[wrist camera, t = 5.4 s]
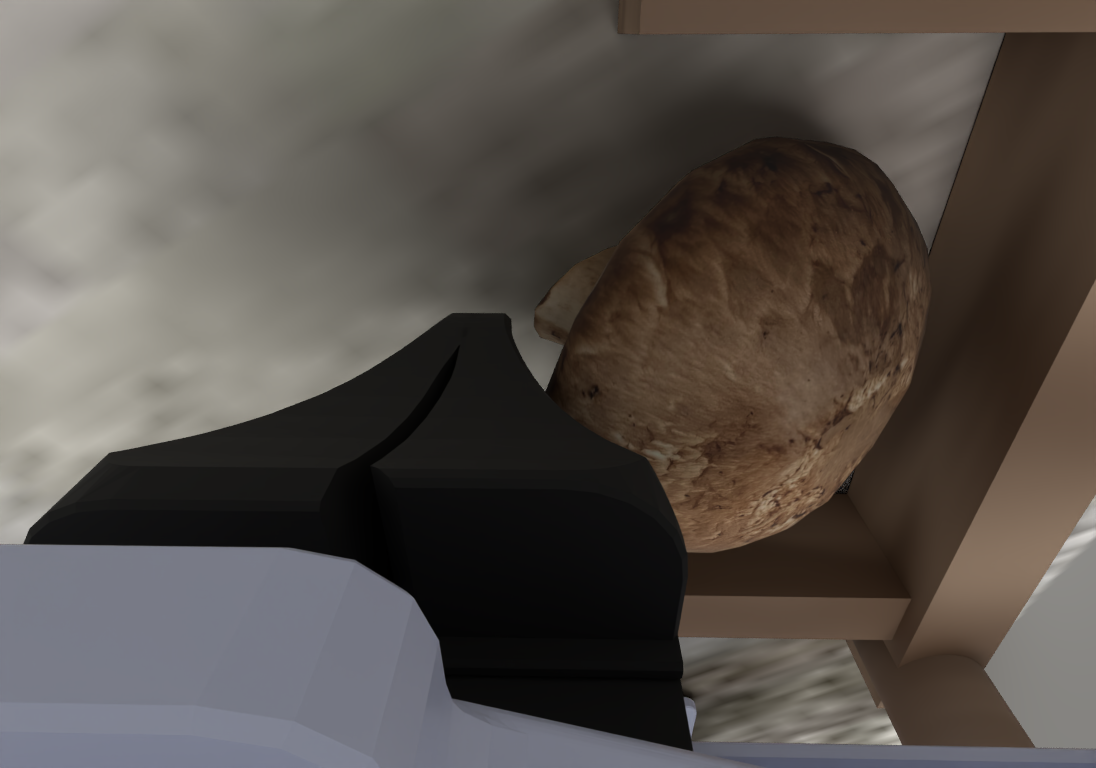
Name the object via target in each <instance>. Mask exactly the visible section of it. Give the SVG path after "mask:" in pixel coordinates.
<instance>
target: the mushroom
mask: <svg viewBox="0 0 1096 768" xmlns="http://www.w3.org/2000/svg"><path fill="white" fill-rule="evenodd" d="M931 293H932V288H931V278H930V268H929V258H928V248H927V246H926V244H925V241H924V239H923V236H922V234H921V232H920V229H919V227H918V224H917V222H916V220H915V219H914V217H913V216H912V214H911V212H910V211H909V209H908V208H907V206H906V204H905V203H904V201H903V199H902V198H901V196H900V195H899V193H898V191H897V190H896V188H895V187H894V185H893V183H892V182H891V181H890V180H889V179H888V177H887V176H886V175H885V174H884V172H883V171H882V170H881V169H880V168H879V166H878V165H877V164H875V163H874V162H872V161H871V160H869V159H868V158H866V157H865V156H863V155H862V154H860V153H859V152H857V151H856V150H854V149H850V148H847V147H843V146H839V145H836V144H832V143H828V142H819V141H810V140H801V139H792V138H783V137H769V138H760V139H755V140H753V141H751V142H749V143H747V144H745V145H743V146H741V147H739V148H737V149H735V150H733V151H731V152H729V153H727V154H725V155H723V156H721V157H719V158H717V159H715V160H713V161H711V162H709V163H707V164H705V165H703V166H701V167H699V168H697V169H695V170H693V171H691V172H690V173H689V174H687V175H686V176H685V177H684V178H683V179H681V180H680V181H679V182H678V183H677V184H676V185H675V186H674V187H673V188H672V189H671V190H670V191H669V192H668V193H667V194H666V195H665V196H664V197H663V198H662V199H661V200H660V201H659V202H658V203H657V204H656V205H655V206H654V207H653V208H652V209H651V210H650V211H649V212H648V213H647V215H646V216H645V217H644V218H643V219H642V220H641V221H640V222H639V223H638V224H637V225H636V226H635V227H634V228H633V229H632V230H631V231H630V232H629V233H628V234H627V235H626V236H625V237H624V238H623V239H622V240H621V241H620V242H619V244H618V246H614V247H611V248H607V249H605V250H603V251H601V252H599V253H597V254H595V255H593V256H591V257H589V258H587V259H585V260H583V261H581V262H579V263H577V264H575V265H574V266H573V267H572V268H571V269H570V270H569V271H568V272H567V273H566V274H565V275H564V276H563V277H562V278H561V279H560V280H559V281H557V282H556V283H555V284H554V285H553V286H552V287H551V289H550V290H549V291H548V293H547V294H546V295H545V297H544V298H543V299H542V301H541V302H540V303H539V305H538V306H537V307H536V309H535V317H534V327H535V329H536V331H537V332H538V334H539V336H540V337H541V338H544V339H547V340H550V341H553V342H556V343H559V344H562V345H564V347H563V349H562V352H561V354H560V357H559V359H558V362H557V364H556V367H555V369H554V372H553V374H552V377H551V379H550V382H549V384H548V387H547V389H546V391H545V392H546V393H547V394H548V396H549V397H550V398H551V399H552V400H553V401H554V402H555V403H556V404H557V405H558V406H559V407H560V408H561V409H562V410H563V411H565V412H566V413H567V414H568V415H570V416H571V417H572V418H573V419H575V420H576V421H577V422H579V423H580V424H582V425H583V426H584V427H586V428H588V429H589V430H591V431H593V432H594V433H596V434H598V435H599V436H601V437H603V438H605V439H606V440H608V441H611V442H613V443H615V444H617V445H619V446H622V447H624V448H626V449H628V450H631V451H633V452H635V453H637V454H640V455H642V456H644V457H646V458H647V459H648V461H649V462H650V464H651V466H652V467H653V469H654V471H655V473H656V475H657V477H658V479H659V481H660V483H661V484H662V486H663V488H664V491H665V493H666V495H667V497H668V499H669V501H670V504H671V506H672V508H673V511H674V513H675V516H676V518H677V521H678V523H679V526H680V529H681V532H682V535H683V538H684V542H685V546H686V550H687V552H698V553H713V552H718V551H723V550H727V549H732V548H737V547H741V546H743V545H746V544H749V543H752V542H754V541H757V540H760V539H763V538H765V537H768V536H771V535H774V534H777V533H779V532H781V531H783V530H786V529H788V528H790V527H792V526H793V525H794V524H796V523H797V522H798V521H800V520H801V519H802V518H804V517H805V516H806V515H807V514H809V513H810V512H812V511H813V510H815V509H817V508H818V507H820V506H821V505H823V504H824V503H826V502H828V501H829V499H830V498H831V497H832V496H833V495H834V493H835V492H836V491H837V490H838V488H839V487H840V486H841V485H842V483H843V482H844V481H845V480H846V479H847V477H848V476H849V475H850V474H851V472H852V471H853V470H854V469H855V468H856V466H857V465H858V464H859V463H860V461H861V460H862V459H863V458H864V457H865V455H866V454H867V453H868V452H869V450H870V449H871V448H872V447H873V445H874V443H875V442H876V440H877V439H878V437H879V435H880V434H881V432H882V430H883V429H884V427H885V426H886V424H887V422H888V421H889V419H890V417H891V416H892V414H893V412H894V411H895V409H896V408H897V406H898V404H899V403H900V401H901V399H902V398H903V396H904V395H905V393H906V391H907V390H908V388H909V386H910V383H911V380H912V376H913V373H914V369H915V366H916V363H917V359H918V356H919V352H920V349H921V345H922V342H923V339H924V335H925V332H926V325H927V319H928V313H929V306H930V300H931Z"/></svg>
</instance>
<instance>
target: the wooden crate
mask: <svg viewBox="0 0 1096 768" xmlns="http://www.w3.org/2000/svg"><path fill="white" fill-rule="evenodd" d="M997 32H1006V35H1005V38H1004V41H1003V44H1002V47H1001V50H1000V53H999V56H998V58H997V61H996V64H995V67H994V70H993V73H992V76H991V79H990V82H989V84H988V87H987V90H986V93H985V96H984V99H983V102H982V105H981V108H980V111H979V113H978V116H977V119H976V122H975V125H974V128H973V131H972V134H971V137H970V139H969V142H968V145H967V148H966V151H965V154H964V157H963V160H962V163H961V166H960V168H959V171H958V174H957V177H956V180H955V183H954V186H953V189H952V192H951V194H950V197H949V200H948V203H947V206H946V209H945V212H944V215H943V218H942V220H941V223H940V226H939V229H938V232H937V235H936V238H935V241H934V244H933V247H932V249H931V252H930V255H929V268H930V278H931V288H932V293H931V300H930V306H929V313H928V319H927V325H926V332H925V335H924V339H923V342H922V345H921V349H920V352H919V356H918V359H917V363H916V366H915V369H914V373H913V376H912V380H911V383H910V386H909V388H908V390H907V391H906V393H905V395H904V396H903V398H902V399H901V401H900V403H899V404H898V406H897V408H896V409H895V411H894V412H893V414H892V416H891V417H890V419H889V421H888V422H887V424H886V426H885V427H884V429H883V430H882V432H881V434H880V435H879V437H878V439H877V440H876V442H875V443H874V445H873V447H872V448H871V449H870V450H869V452H868V453H867V454H866V455H865V457H864V458H863V459H862V460H861V461H860V463H859V464H858V465H857V466H856V469H855V472H854V475H853V478H852V481H851V484H850V487H849V490H848V492H847V494H834V495H833V496H832V497H831V498H830V499H829V501H828V502H826V503H824V504H823V505H821V506H820V507H818V508H817V509H815V510H813V511H812V512H810V513H809V514H807V515H806V516H805V517H804V518H802V519H801V520H800V521H798V522H797V523H796V524H794V525H793V526H792V527H790V528H788V529H786V530H783V531H781V532H779V533H777V534H774V535H771V536H768V537H765V538H763V539H760V540H757V541H754V542H752V543H749V544H746V545H743V546H741V547H737V548H732V549H727V550H723V551H718V552H713V553H698V552H687V554H688V579H687V585H686V591H685V596H684V602H683V608H682V614H681V619H680V625H679V631H678V637H718V638H783V639H845V640H846V642H847V644H848V646H849V648H850V651H851V653H852V655H853V657H854V659H855V661H856V663H857V666H858V668H859V670H860V672H861V674H862V676H863V678H864V681H865V683H866V685H867V687H868V689H869V691H870V693H871V696H872V698H873V700H874V702H875V704H876V706H877V708H885V710H886V712H887V714H888V716H889V718H890V720H891V722H892V724H893V726H894V729H895V731H896V733H897V735H898V737H899V739H900V741H901V743H902V745H915V746H970V747H1024V748H1035V746H1034V744H1033V743H1032V742H1031V740H1030V738H1029V737H1028V735H1027V734H1026V732H1025V731H1024V729H1023V728H1022V726H1021V725H1020V723H1019V722H1018V720H1017V719H1016V717H1015V716H1014V715H1013V713H1012V711H1011V710H1010V709H1009V707H1008V705H1007V704H1006V702H1005V701H1004V699H1003V698H1002V696H1001V695H1000V693H999V692H998V690H997V689H996V687H995V686H994V684H993V682H992V681H991V679H990V678H989V676H988V675H987V673H986V672H985V670H984V668H985V667H986V665H987V664H988V662H989V660H990V659H991V657H992V656H993V654H994V653H995V651H996V649H997V648H998V646H999V645H1000V643H1001V642H1002V640H1003V639H1004V637H1005V635H1006V634H1007V632H1008V631H1009V629H1010V628H1011V626H1012V624H1013V623H1014V621H1015V620H1016V618H1017V617H1018V615H1019V614H1020V612H1021V610H1022V609H1023V607H1024V606H1025V604H1026V603H1027V601H1028V599H1029V598H1030V596H1031V595H1032V593H1033V592H1034V590H1035V588H1036V587H1037V585H1038V584H1039V582H1040V581H1041V579H1042V577H1043V576H1044V574H1045V573H1046V571H1047V570H1048V568H1049V566H1050V565H1051V563H1052V562H1053V560H1054V559H1055V557H1056V556H1057V554H1058V552H1059V551H1060V549H1061V548H1062V546H1063V545H1064V543H1065V541H1066V540H1067V538H1068V537H1069V535H1070V534H1071V532H1072V530H1073V529H1074V527H1075V526H1076V524H1077V523H1078V521H1079V519H1080V518H1081V516H1082V515H1083V513H1084V512H1085V510H1086V509H1087V507H1088V505H1089V504H1090V502H1091V501H1092V499H1093V498H1094V496H1095V494H1096V0H619V12H618V33H620V34H804V33H997Z"/></svg>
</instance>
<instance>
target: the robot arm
mask: <svg viewBox="0 0 1096 768" xmlns="http://www.w3.org/2000/svg"><path fill="white" fill-rule="evenodd" d="M687 579H688V554H687V550H686V546H685V542H684V538H683V535H682V532H681V529H680V526H679V523H678V521H677V518H676V516H675V513H674V511H673V508H672V506H671V504H670V501H669V499H668V497H667V495H666V493H665V491H664V488H663V486H662V484H661V483H660V481H659V479H658V477H657V475H656V473H655V471H654V469H653V467H652V466H651V464H650V462H649V461H648V459H647V458H646V457H644V456H642V455H640V454H637V453H635V452H633V451H631V450H628V449H626V448H624V447H622V446H619V445H617V444H615V443H613V442H611V441H608V440H606V439H605V438H603V437H601V436H599V435H598V434H596V433H594V432H593V431H591V430H589V429H588V428H586V427H584V426H583V425H582V424H580V423H579V422H577V421H576V420H575V419H573V418H572V417H571V416H570V415H568V414H567V413H566V412H565V411H563V410H562V409H561V408H560V407H559V406H558V405H557V404H556V403H555V402H554V401H553V400H552V399H551V398H550V397H549V396H548V394H547V393H546V392H545V391H544V390H543V389H542V387H541V386H540V385H539V383H538V382H537V381H536V379H535V378H534V376H533V375H532V373H531V372H530V370H529V369H528V367H527V366H526V364H525V362H524V360H523V359H522V357H521V355H520V353H519V350H518V348H517V346H516V344H515V342H514V339H513V336H512V326H511V319H510V318H509V317H508V316H507V315H506V314H505V313H452V314H451V315H449V316H447V317H446V318H444V319H443V320H441V321H440V322H438V323H437V324H436V325H434V326H433V327H432V328H430V329H429V330H428V331H426V332H425V333H424V334H422V335H421V336H419V337H418V338H417V339H415V340H414V341H412V342H411V343H410V344H408V345H407V346H405V347H404V348H403V349H401V350H400V351H398V352H396V353H395V354H393V355H392V356H390V357H389V358H387V359H385V360H384V361H382V362H381V363H379V364H377V365H376V366H374V367H373V368H371V369H370V370H368V371H366V372H364V373H363V374H361V375H359V376H357V377H355V378H353V379H352V380H350V381H348V382H346V383H344V384H342V385H340V386H337V387H335V388H333V389H331V390H329V391H327V392H325V393H323V394H320V395H318V396H316V397H313V398H311V399H308V400H305V401H303V402H300V403H298V404H295V405H292V406H290V407H287V408H285V409H282V410H279V411H277V412H274V413H272V414H269V415H266V416H263V417H259V418H256V419H253V420H250V421H247V422H243V423H240V424H237V425H233V426H229V427H226V428H222V429H218V430H215V431H211V432H207V433H203V434H199V435H195V436H191V437H186V438H182V439H177V440H172V441H167V442H162V443H158V444H153V445H148V446H143V447H138V448H133V449H129V450H123V451H117V452H111V453H109V454H108V455H107V456H106V457H104V458H103V459H102V460H101V461H100V462H99V463H98V464H97V465H96V466H95V467H94V468H93V469H92V470H91V471H90V472H89V473H88V474H87V475H86V476H84V477H83V478H82V479H81V480H80V481H79V482H78V483H77V484H76V485H75V486H74V487H73V488H72V489H71V490H70V491H69V492H68V493H67V494H66V495H64V496H63V497H62V498H61V499H60V500H59V501H58V502H57V503H56V504H55V505H54V506H53V507H52V508H51V509H50V510H49V511H48V512H47V513H46V514H45V515H43V516H42V517H41V518H40V519H39V520H38V521H37V522H36V523H35V524H34V525H33V526H32V527H31V528H30V529H29V531H28V534H27V536H26V539H25V541H24V544H0V768H1096V749H1078V748H1076V749H1075V748H1024V747H970V746H915V745H860V744H805V743H750V742H695V741H691V736H692V732H693V727H694V723H695V718H696V714H697V713H696V707H695V702H694V701H693V700H692V699H690V698H688V697H683V691H682V686H681V680H680V678H682V675H683V660H682V655H681V649H680V644H679V639H678V631H679V625H680V619H681V614H682V608H683V602H684V596H685V591H686V585H687Z"/></svg>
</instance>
